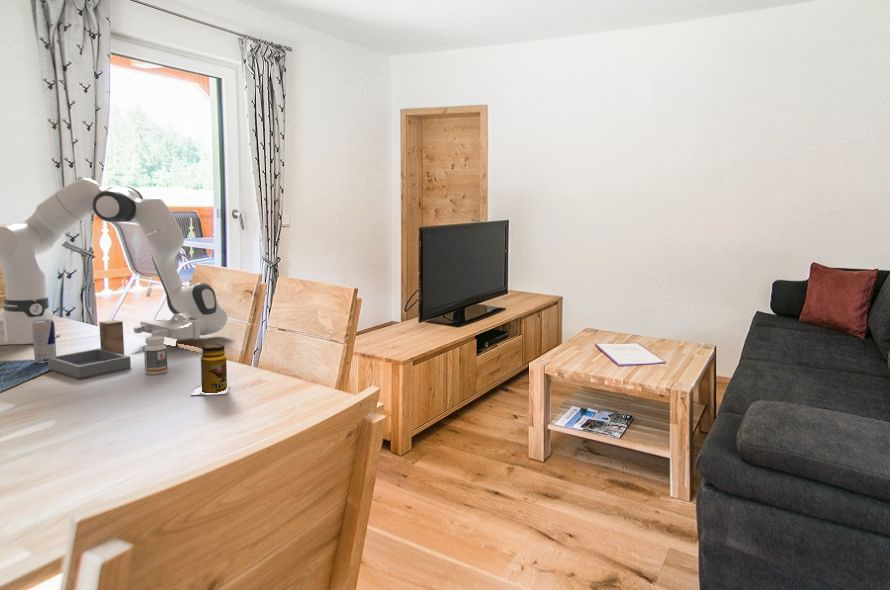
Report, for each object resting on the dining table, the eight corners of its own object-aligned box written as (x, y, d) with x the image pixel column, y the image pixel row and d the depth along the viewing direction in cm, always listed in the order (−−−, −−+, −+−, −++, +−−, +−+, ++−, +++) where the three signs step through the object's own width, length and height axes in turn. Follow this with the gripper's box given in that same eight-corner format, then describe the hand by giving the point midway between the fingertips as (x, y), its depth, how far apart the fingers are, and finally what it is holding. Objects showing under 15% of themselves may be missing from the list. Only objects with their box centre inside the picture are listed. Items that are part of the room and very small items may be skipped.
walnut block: (101, 357, 180) (99, 321, 178) (115, 354, 184) (114, 319, 182) (109, 359, 177) (107, 323, 176) (124, 356, 181) (122, 321, 180)
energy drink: (61, 359, 176) (58, 319, 174) (47, 364, 171) (44, 323, 169) (44, 358, 177) (41, 318, 175) (30, 363, 171) (27, 322, 170)
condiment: (226, 395, 148) (225, 348, 147) (190, 396, 147) (188, 349, 145) (230, 386, 155) (229, 341, 154) (195, 387, 154) (194, 342, 152)
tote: (48, 369, 165) (47, 357, 165) (99, 359, 177) (98, 348, 177) (79, 379, 157) (78, 367, 157) (130, 368, 169) (130, 356, 168)
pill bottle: (172, 371, 167) (171, 337, 166) (154, 376, 162) (153, 340, 161) (158, 368, 170) (156, 334, 168) (140, 373, 165) (138, 338, 163)
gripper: (163, 313, 205) (124, 318, 193) (201, 320, 194) (162, 327, 183) (164, 331, 206) (125, 337, 194) (202, 339, 195) (163, 347, 184)
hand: (143, 332), depth 188 cm, fingers open, 8 cm apart
